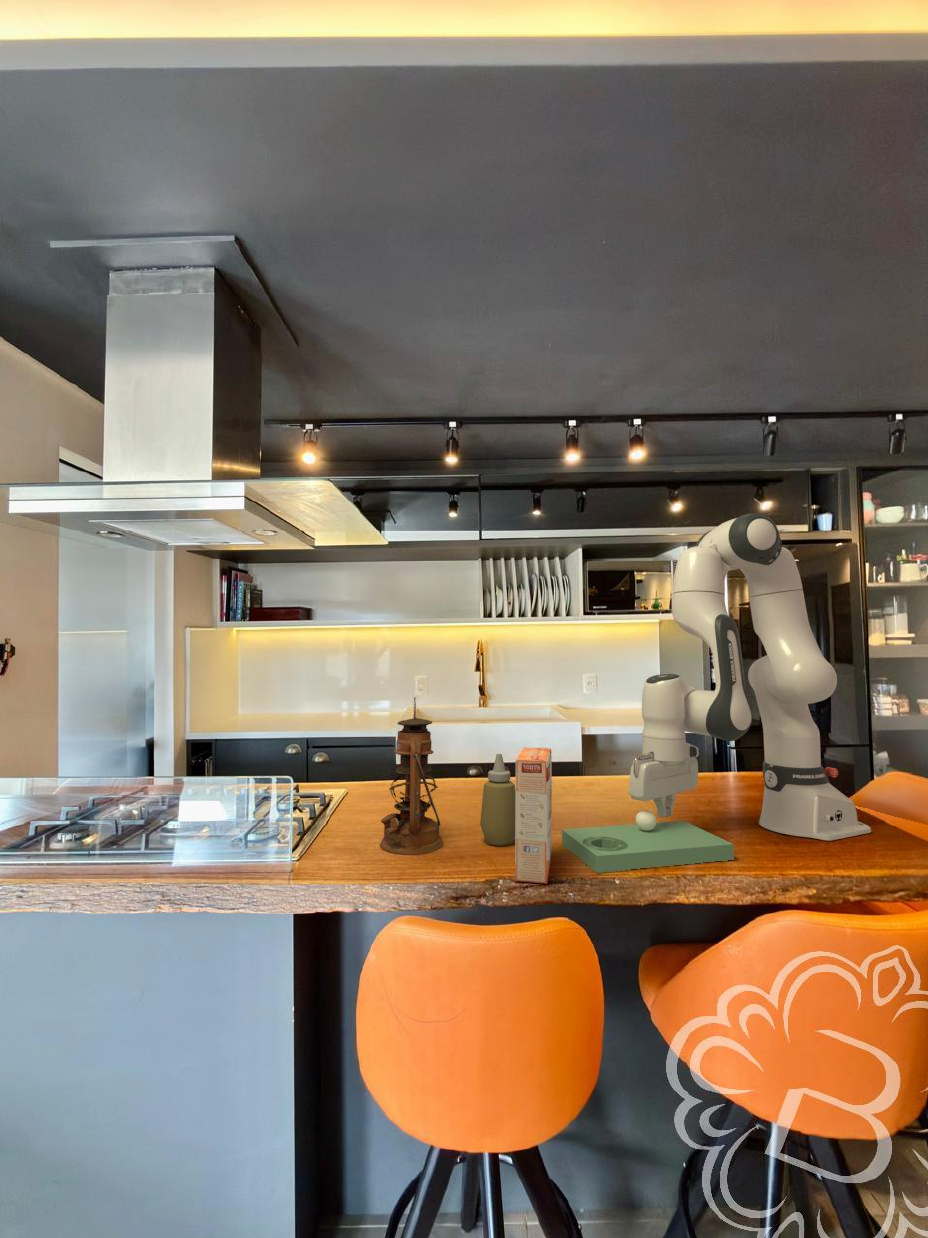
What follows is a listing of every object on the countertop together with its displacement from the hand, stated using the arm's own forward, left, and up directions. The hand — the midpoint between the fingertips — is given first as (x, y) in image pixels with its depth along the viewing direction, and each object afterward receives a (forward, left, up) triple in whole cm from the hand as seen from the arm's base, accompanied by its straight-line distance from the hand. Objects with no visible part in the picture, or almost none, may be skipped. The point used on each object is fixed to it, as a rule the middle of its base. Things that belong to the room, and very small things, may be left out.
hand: (664, 815), depth 122 cm
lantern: (+53, -8, -5) cm, 54 cm away
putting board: (+9, +7, -5) cm, 12 cm away
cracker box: (+33, +11, -5) cm, 35 cm away
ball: (+6, +4, 0) cm, 7 cm away
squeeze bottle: (+35, -5, -5) cm, 36 cm away
